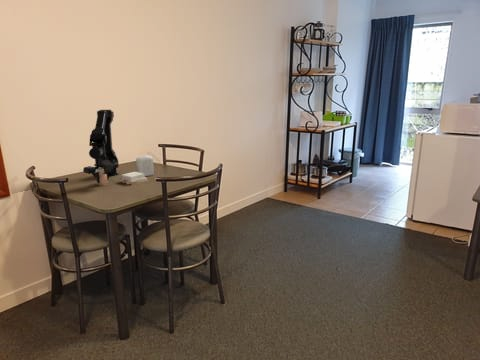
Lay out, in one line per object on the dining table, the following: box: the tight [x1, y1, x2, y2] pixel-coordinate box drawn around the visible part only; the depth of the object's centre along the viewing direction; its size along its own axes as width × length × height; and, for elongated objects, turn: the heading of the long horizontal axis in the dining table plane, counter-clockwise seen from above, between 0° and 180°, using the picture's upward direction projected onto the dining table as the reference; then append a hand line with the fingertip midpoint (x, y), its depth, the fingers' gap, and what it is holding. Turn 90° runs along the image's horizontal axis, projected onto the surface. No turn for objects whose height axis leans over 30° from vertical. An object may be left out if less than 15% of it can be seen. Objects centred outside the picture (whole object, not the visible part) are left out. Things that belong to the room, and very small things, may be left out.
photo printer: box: [135, 155, 155, 177], centre depth 220 cm, size 10×4×12 cm, turn 123°
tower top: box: [121, 171, 146, 181], centre depth 208 cm, size 9×9×2 cm
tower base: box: [119, 176, 149, 186], centre depth 209 cm, size 11×11×2 cm
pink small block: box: [97, 172, 109, 187], centre depth 202 cm, size 5×5×6 cm
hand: (102, 182), depth 203 cm, fingers closed on pink small block, 5 cm apart
